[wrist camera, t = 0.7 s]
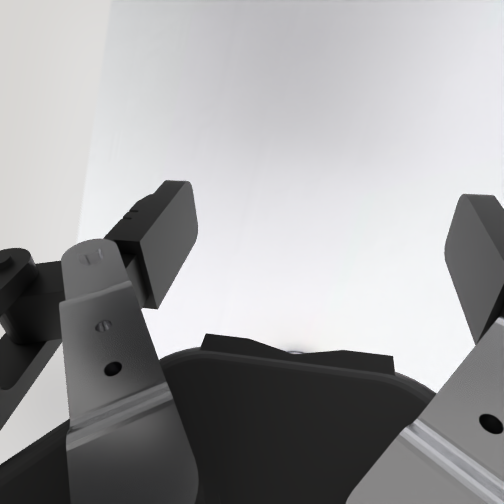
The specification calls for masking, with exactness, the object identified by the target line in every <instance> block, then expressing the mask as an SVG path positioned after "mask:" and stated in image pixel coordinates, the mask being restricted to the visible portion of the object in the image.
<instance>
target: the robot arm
mask: <svg viewBox="0 0 504 504" xmlns="http://www.w3.org/2000/svg"><path fill="white" fill-rule="evenodd" d="M197 234H198V222H197V216H196V209H195V203H194V196H193V190H192V186H191V183H190V182H189V181H171V180H166V181H164V182H163V184H162V185H161V186H160V187H159V188H158V189H157V190H156V192H155V193H154V194H150V195H148V196H146V197H145V198H143V199H141V200H139V201H137V202H136V203H135V205H134V206H133V207H132V208H131V209H130V210H129V212H127V213H126V214H125V215H124V216H123V219H121V220H120V221H119V222H118V223H117V224H116V225H115V226H114V227H113V228H112V230H111V231H110V232H109V233H108V234H107V235H106V236H105V237H104V238H103V239H92V240H87V241H84V242H81V243H79V244H76V245H74V246H73V247H71V248H70V249H68V250H67V251H66V252H65V253H64V254H63V256H62V258H61V261H55V262H47V263H39V264H35V263H34V261H33V259H32V257H31V254H30V252H29V251H27V250H25V249H21V248H11V249H4V250H1V251H0V324H1V325H2V327H3V328H4V330H5V332H6V333H5V334H4V335H3V337H2V338H1V339H0V430H1V429H2V427H3V426H4V425H5V423H6V422H7V420H8V419H9V417H10V416H11V414H12V413H13V412H14V410H15V409H16V407H17V406H18V404H19V403H20V402H21V400H22V399H23V397H24V396H25V394H26V393H27V391H28V390H29V389H30V387H31V386H32V384H33V383H34V381H35V380H36V379H37V377H38V376H39V374H40V373H41V371H42V370H43V368H44V367H45V366H46V364H47V363H48V361H49V360H50V358H51V357H52V356H53V354H54V353H55V351H56V350H57V348H58V347H59V346H60V344H61V343H62V342H63V353H64V363H65V374H66V383H67V384H66V385H67V394H68V404H69V416H70V419H68V420H67V421H65V422H64V423H62V424H61V425H59V426H58V427H56V428H55V429H53V430H52V431H50V432H49V433H47V434H46V435H44V436H43V437H41V438H40V439H39V440H37V441H35V442H34V443H32V444H31V445H29V446H28V447H26V448H25V449H23V450H22V451H20V452H19V453H17V454H16V455H14V456H13V457H11V458H10V459H8V460H7V461H5V462H4V463H2V464H1V465H0V504H504V209H503V208H502V206H501V205H500V203H499V202H498V200H497V199H496V197H495V196H493V195H478V194H463V195H461V197H460V198H459V200H458V203H457V206H456V210H455V213H454V216H453V219H452V223H451V226H450V229H449V233H448V236H447V239H446V243H445V261H446V264H447V267H448V270H449V273H450V275H451V278H452V281H453V284H454V287H455V289H456V292H457V295H458V298H459V301H460V303H461V306H462V309H463V312H464V314H465V317H466V320H467V323H468V326H469V328H470V331H471V334H472V337H473V340H474V342H475V345H476V346H475V347H474V348H473V350H472V351H471V352H470V353H469V355H468V356H467V357H466V358H465V360H464V361H463V362H462V363H461V365H460V366H459V367H458V368H457V370H456V371H455V372H454V373H453V375H452V376H451V377H450V378H449V380H448V381H447V382H446V383H445V384H444V386H443V387H442V388H441V389H440V391H439V392H438V393H435V392H434V391H432V390H431V389H429V388H428V387H426V386H425V385H423V384H421V383H419V382H417V381H416V380H414V379H412V378H409V377H407V376H405V375H403V374H400V373H397V372H395V369H394V362H393V356H388V355H380V354H372V353H363V352H355V351H347V350H339V351H327V352H316V353H304V354H292V353H288V352H286V351H283V350H280V349H277V348H274V347H271V346H268V345H266V344H263V343H260V342H257V341H254V340H251V339H247V338H239V337H231V336H223V335H214V334H206V335H205V337H204V340H203V342H202V345H201V347H196V348H191V349H186V350H182V351H179V352H175V353H173V354H170V355H168V356H165V357H163V358H162V359H160V360H159V359H158V357H157V354H156V351H155V348H154V345H153V342H152V340H151V337H150V334H149V331H148V328H147V326H146V323H145V320H144V317H143V314H142V311H141V309H142V308H150V309H158V308H159V306H160V304H161V302H162V301H163V299H164V297H165V295H166V293H167V292H168V290H169V288H170V286H171V285H172V283H173V281H174V279H175V277H176V276H177V274H178V272H179V270H180V269H181V267H182V265H183V263H184V261H185V260H186V258H187V256H188V254H189V252H190V251H191V249H192V247H193V245H194V244H195V242H196V239H197Z"/></svg>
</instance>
